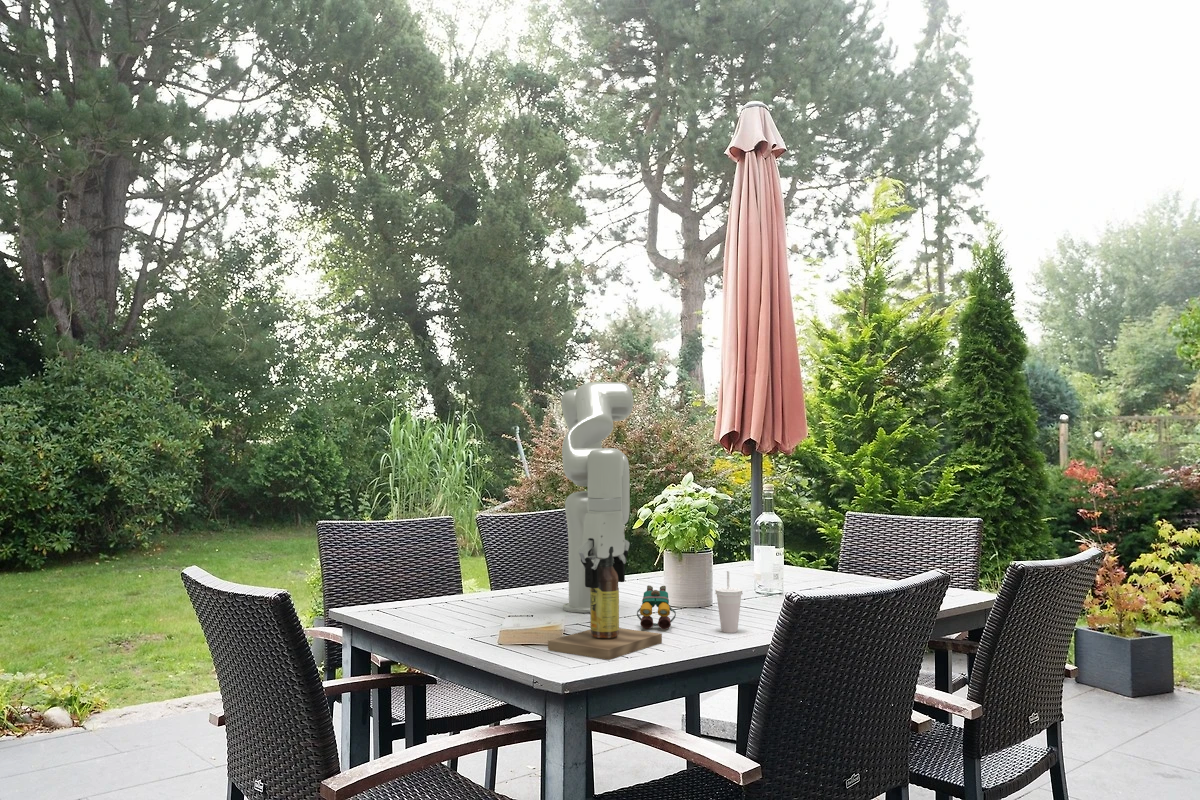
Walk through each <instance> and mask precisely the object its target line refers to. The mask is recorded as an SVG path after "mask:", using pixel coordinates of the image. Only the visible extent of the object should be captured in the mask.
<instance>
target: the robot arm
mask: <svg viewBox="0 0 1200 800" xmlns="http://www.w3.org/2000/svg"><path fill="white" fill-rule="evenodd" d="M560 406H561V412H562V415H563V418H564V421H565V423H566V426H567V428H568V431H567V433H566V435H565V436H564V439H563V441H562V447H561V448H562V449H561V454H562V468H563V473H564V475H565V477H566V478H567V479H568V480H570V481H571V482H572V483H573V484H574V485H576V486H579V487H587V490H585V491H576V492H572V493H570V494H569V495H568V496H567V497H566V499H565V502H564V510H565V511H564V512H565V518H566V526H567V537H568V538H567V539H568V540H567V541H568V542H567V543H568V602H567V603H564V604H563V605H562V609H563V611H565V612H571V613H577V614H578V613H579V614H580V613H581V614H582V613H585V614H588V613H589V614H590V588H598V586H599V578H598V569H596V568H597V566H598V563H599V561H600V559H606V558H608V557H609V549H610V547H612V546H613V553H612V555H613V567H614V569H615V571H616V572H617V574H618V583H625V581H626V580H625V579H626V575H625V571H626V570H625V569H626V567H625V565H626V563H627V557H628V554H629V548H630V541H629V540H627V539H626V538H625V537H626V536H625V525H626V524H627V523H628V522H629V518H630V510H631V509H630V508H631V507H630V505H631V501H630V498H631V497H630V492H631V491H630V488H631V487H630V476H631V475H630V464H629V460H628V457H627V455H626V454H625V453H624V452H622V451H621V450H620V449H618V448H615V447H614V448H613V447H602V446H603V445H602V444H603V440H606V439H607V438H608V437H610V435H611V433H613V432H612V431H613V429H614V422H620V421H624V420H626V419H627V418H628V417H629V416H630V415H631V414H632V411H633V408H634V396H633V392H632V389H631V387H630V386H629V385H628V384H627V383H625V382H621V381H619V382H618V381H617V382H615V381H611V382H610V381H607V382H605V381H604V382H602V381H600V382H599V381H598V382H597V381H592V382H586V383H583V384H582V385H580V386H579V387H578V388H577V389H570V390H566V391H565V392H564V393H563V394H562V396H561V405H560Z"/></svg>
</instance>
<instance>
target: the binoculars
mask: <svg viewBox="0 0 1200 800" xmlns="http://www.w3.org/2000/svg"><path fill="white" fill-rule="evenodd" d="M666 589H667V586H666V585H661V586H660V587H659V590H657V589H654V588H653V586H652V585H647V586H646V591H644V592H643V597H642V600H641V603H642V604H641V605H640V607H639V608H638V609H637V611H636V616H637V618H638V619H639V621H640V622H639V623H640V627H641V628H642V629H644V630H650V629H652V628H653V627H654V626H655V627H657V626H658V627H659V628H660V629H662V630H668V629H670V628H671V626H672V622H673V621H674V620H675V618H676V614H677V612H676V611H675V610H674V608H673V607H672V605H670V600H669V593H668V592H667V591H666ZM655 607H657V615H658V616H660V617H659V618H658V621H657V622H654V620H653V619H654V618H653V617H652V616H651V615H653V608H655ZM671 612H673V613H674V615H673V617H672V618H670V617H669V616H670V614H671ZM639 613H640V615H641V616H642V617H641V616H640V615H639Z"/></svg>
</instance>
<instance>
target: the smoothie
mask: <svg viewBox="0 0 1200 800" xmlns="http://www.w3.org/2000/svg"><path fill="white" fill-rule="evenodd" d="M714 594H715V595H716V601H717V606H718V607H717V608H718V613H719V615H718V616H719V621H720V628H721V629H720V630H721V632H722V633H724V634H725V633H728V634H733V633H735V634H736V633H738V631H739V630H738V629H739V621H740V610H741V609H740V608H741V602H742V601H741V600H742V595H743V594H744V593H743V589H741V588H737V587H730V571H729V570H728V571H726V587H718V588H715V592H714Z"/></svg>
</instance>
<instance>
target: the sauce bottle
mask: <svg viewBox="0 0 1200 800" xmlns="http://www.w3.org/2000/svg"><path fill="white" fill-rule="evenodd" d="M612 553H613V546H612V547H610V549H609V557H608V558H606V559H600V561H599V563H598V566H597V568H596V569H598V578H599V586H598V588H590V613H589V614H590V620H589V622H590V629H591V635H592V636H593V637H595V638H600V639H612V638H615V637H617V636H618V634H619V631H618V630H619V628H620V588H619V582H618V574H617V572H616V571H615V569H614V567H613V563H614V562H613V555H612Z"/></svg>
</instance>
